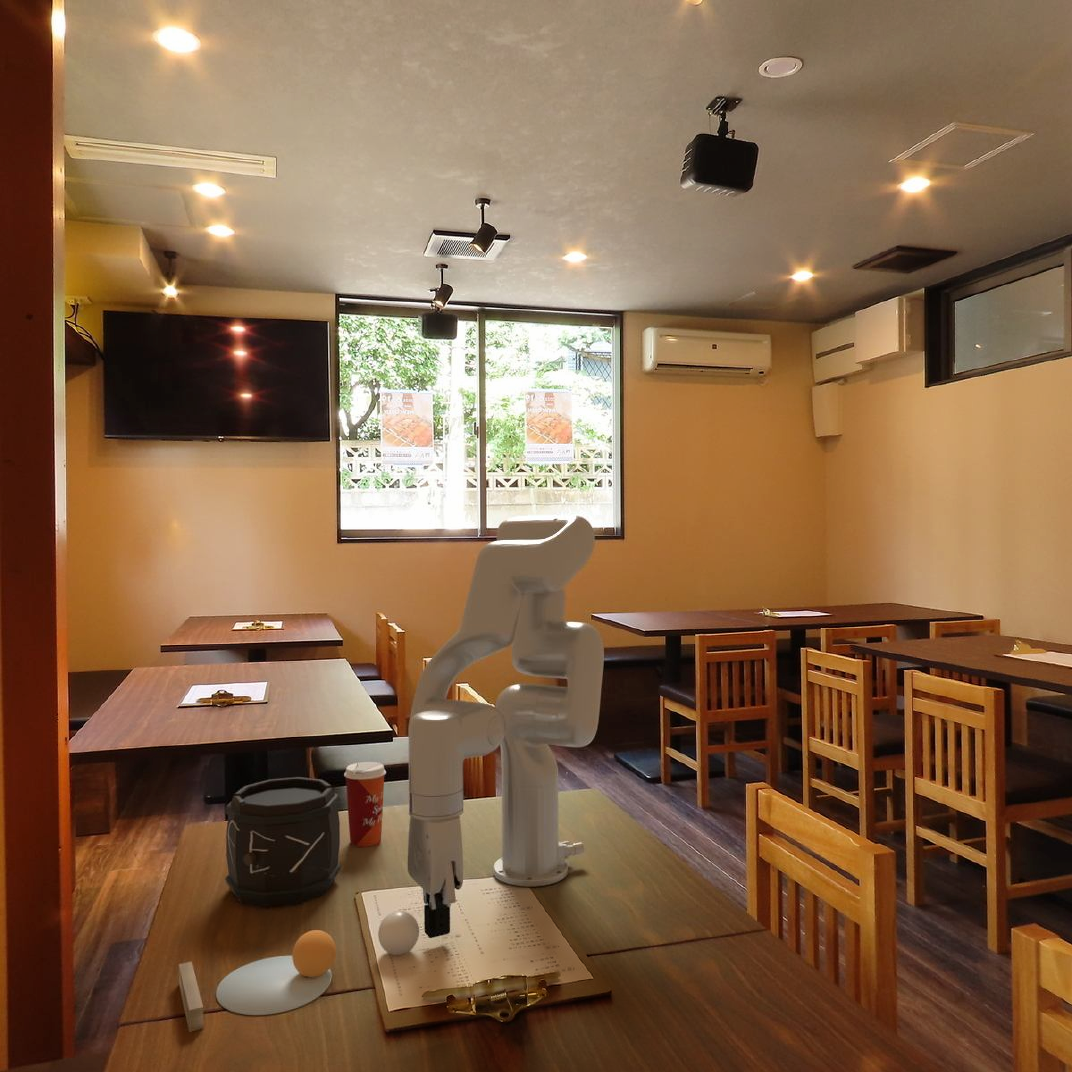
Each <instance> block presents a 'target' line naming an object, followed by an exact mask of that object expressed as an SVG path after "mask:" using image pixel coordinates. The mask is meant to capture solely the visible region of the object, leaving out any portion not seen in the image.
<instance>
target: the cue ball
mask: <svg viewBox="0 0 1072 1072" xmlns="http://www.w3.org/2000/svg"><path fill="white" fill-rule="evenodd" d="M377 937H378V942H379V943H380V946H381V948H382V949H383V951H385V952H386V953H388V954H390V955H394V956H402V955H406V954H407V953H409V952H410V951H411V950H413V948H414V947H415V946H416V944H417V942H418V940H419V937H420V928H419V923H418V921H417V919H416V918H415V916H413V915H412V913H410V912H408V911H405V910H394V911H392V912H391V913H388V914H387V915H385V917H384V918H383V919H382V921H381V922H380V925H379V927H378V935H377Z"/></svg>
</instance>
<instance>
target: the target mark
mask: <svg viewBox="0 0 1072 1072" xmlns="http://www.w3.org/2000/svg"><path fill="white" fill-rule="evenodd" d="M332 974H333V973H332V971H331V968H330V969H329V970H328V971H327V972H325V973H324V974H322V975H320V976H318V977H306V976H304V975H302V974H300V973H299V972H298V971H297V970H296V968H295V966H294V964H293V959H292V955H279V956H272V957H266V958H261V959H258V960H254V961H252V962H250V963H249V962H248V963H247V964H245V965H243V966H240V967H239V968H236V969H235V970H233V971H231V972H230V973H228V974H227V975H226V976H225V977H224V978H223V979H222V980H221V981H220V982H219V984H218V986H217V988H216V993H215V997H216V1000H217V1003H219V1005H220V1006H221V1007H222V1008H224V1009H225V1010H227V1011H229V1012H232V1013H236V1014H240V1015H246V1016H267V1015H268V1016H269V1015H274V1014H281V1013H285V1012H289V1011H292V1010H295V1009H298V1008H301V1007H303V1006H305V1005H307V1004H309V1003H311V1002H313V1001H315V1000H316V999H317V998H319V997H320V996H322V994H324V993H325V992H326V991H327V990H328V989H329V986H331V983H332V979H333V977H332Z"/></svg>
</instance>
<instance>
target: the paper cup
mask: <svg viewBox="0 0 1072 1072" xmlns="http://www.w3.org/2000/svg"><path fill="white" fill-rule="evenodd" d="M386 774H387V771H386V770H385V766H384V764H383V763H381V762H376V761H362V762H361V761H360V762H355V763H352V764H349V765H347V766H346V769H345V772H344V774H343V776H344V777H345V782H346V783H345V784H346V797H347V798H346V800H347V813H348V830H349V840H350V842H349V843H350V844H351V846H353V847H357V848H358V847H359V848H367V847H372V846H376V845H378V844H380V843H381V839H382V829H383V813H384V812H383V809H384V791H385V790H384V787H385V775H386Z"/></svg>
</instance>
